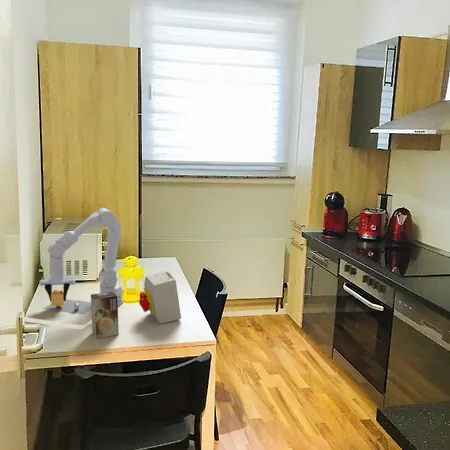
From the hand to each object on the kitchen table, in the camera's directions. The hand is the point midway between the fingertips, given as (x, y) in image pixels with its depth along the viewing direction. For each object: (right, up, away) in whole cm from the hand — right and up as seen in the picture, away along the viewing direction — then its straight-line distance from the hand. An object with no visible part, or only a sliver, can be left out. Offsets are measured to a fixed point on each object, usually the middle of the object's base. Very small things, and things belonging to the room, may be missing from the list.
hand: (58, 300), depth 216 cm
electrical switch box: (+44, -7, -4) cm, 45 cm away
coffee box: (+26, -10, -21) cm, 35 cm away
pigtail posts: (+4, -4, 0) cm, 6 cm away
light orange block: (0, -1, 0) cm, 1 cm away
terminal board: (+5, -4, +4) cm, 7 cm away
